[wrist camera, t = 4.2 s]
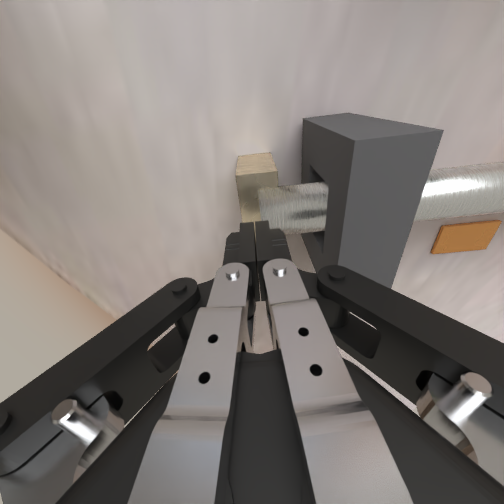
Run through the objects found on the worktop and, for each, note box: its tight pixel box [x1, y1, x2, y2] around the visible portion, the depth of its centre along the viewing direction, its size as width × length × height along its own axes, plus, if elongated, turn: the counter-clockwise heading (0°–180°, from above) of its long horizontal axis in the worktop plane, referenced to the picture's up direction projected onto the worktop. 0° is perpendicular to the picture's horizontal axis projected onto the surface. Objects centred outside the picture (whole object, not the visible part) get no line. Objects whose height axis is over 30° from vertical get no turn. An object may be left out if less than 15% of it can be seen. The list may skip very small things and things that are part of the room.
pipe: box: [236, 153, 504, 254], centre depth 17 cm, size 28×11×7 cm, turn 96°
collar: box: [301, 113, 444, 289], centre depth 14 cm, size 3×9×9 cm, turn 6°
